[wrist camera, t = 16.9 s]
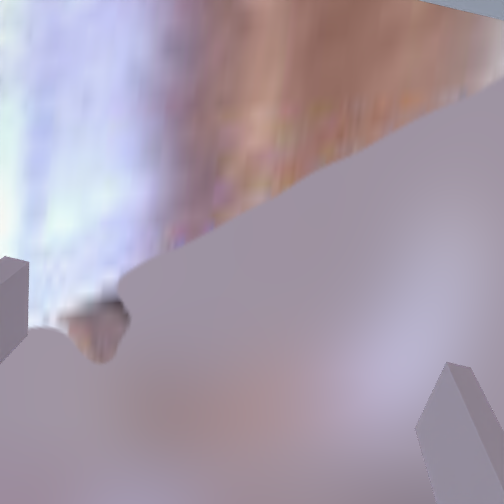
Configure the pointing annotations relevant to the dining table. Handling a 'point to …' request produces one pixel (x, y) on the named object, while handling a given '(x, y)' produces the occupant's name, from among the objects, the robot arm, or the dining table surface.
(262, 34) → the dining table surface
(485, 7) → the slate mat
